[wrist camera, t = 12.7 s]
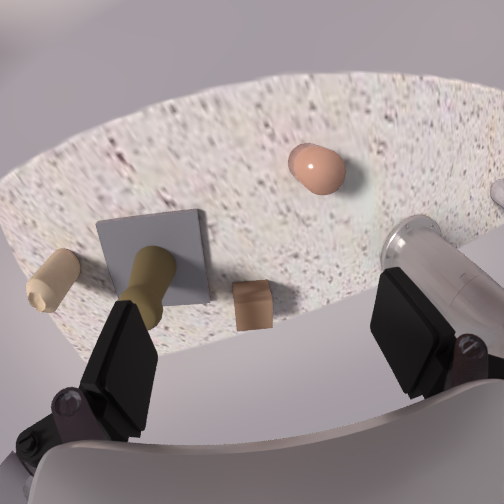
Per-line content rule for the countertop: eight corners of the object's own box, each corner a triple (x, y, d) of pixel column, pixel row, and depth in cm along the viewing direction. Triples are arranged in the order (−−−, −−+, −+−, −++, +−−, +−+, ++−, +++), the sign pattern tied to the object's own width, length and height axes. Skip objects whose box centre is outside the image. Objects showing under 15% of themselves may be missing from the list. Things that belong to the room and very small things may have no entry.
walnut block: (267, 279, 40) (272, 300, 36) (267, 305, 43) (272, 327, 38) (232, 282, 40) (234, 303, 36) (235, 309, 42) (237, 331, 38)
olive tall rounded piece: (181, 280, 38) (172, 336, 28) (142, 286, 38) (123, 341, 28) (169, 241, 35) (152, 292, 25) (128, 250, 35) (100, 299, 25)
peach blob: (326, 143, 32) (346, 149, 27) (325, 181, 34) (344, 194, 29) (287, 143, 32) (301, 149, 26) (288, 182, 34) (301, 196, 29)
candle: (79, 250, 35) (48, 289, 26) (82, 281, 37) (57, 323, 28) (50, 245, 34) (17, 281, 25) (55, 275, 36) (26, 314, 27)
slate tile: (197, 208, 34) (196, 211, 33) (210, 298, 41) (210, 302, 40) (98, 221, 33) (95, 224, 32) (123, 304, 40) (122, 308, 39)
